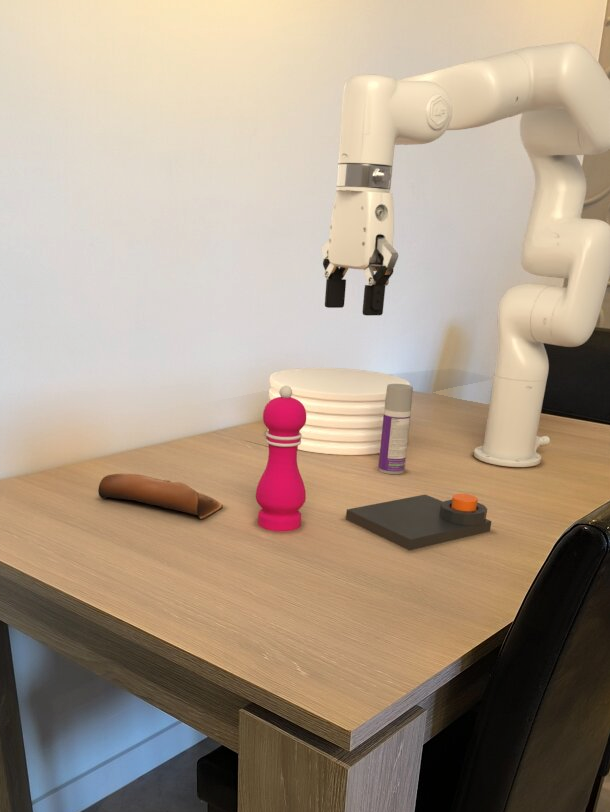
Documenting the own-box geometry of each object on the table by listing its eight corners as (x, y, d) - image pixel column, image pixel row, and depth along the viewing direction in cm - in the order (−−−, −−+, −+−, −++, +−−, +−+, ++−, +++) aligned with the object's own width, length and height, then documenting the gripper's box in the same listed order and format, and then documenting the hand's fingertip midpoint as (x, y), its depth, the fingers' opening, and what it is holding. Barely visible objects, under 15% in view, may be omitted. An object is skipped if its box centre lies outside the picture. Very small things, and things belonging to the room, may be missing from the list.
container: (375, 466, 151) (383, 383, 144) (401, 467, 151) (410, 383, 145) (381, 474, 146) (389, 388, 140) (406, 474, 147) (416, 389, 140)
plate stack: (287, 415, 185) (289, 363, 180) (412, 428, 179) (418, 374, 174) (250, 445, 160) (252, 385, 156) (393, 461, 154) (400, 399, 149)
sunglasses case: (226, 502, 127) (216, 472, 121) (206, 536, 123) (194, 506, 118) (129, 483, 134) (115, 453, 128) (107, 515, 130) (92, 485, 125)
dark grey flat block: (425, 504, 132) (427, 483, 131) (492, 532, 122) (496, 509, 120) (345, 520, 124) (347, 497, 122) (410, 551, 113) (413, 527, 112)
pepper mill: (299, 535, 117) (308, 392, 108) (249, 530, 118) (254, 388, 109) (307, 519, 123) (316, 383, 115) (260, 514, 124) (265, 378, 116)
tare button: (463, 503, 123) (465, 492, 122) (481, 510, 120) (483, 499, 120) (446, 507, 121) (447, 495, 121) (463, 514, 119) (465, 502, 118)
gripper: (425, 182, 109) (409, 318, 117) (350, 183, 123) (340, 304, 130) (379, 178, 106) (366, 318, 113) (307, 179, 119) (300, 304, 126)
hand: (352, 311), depth 121 cm, fingers open, 9 cm apart
